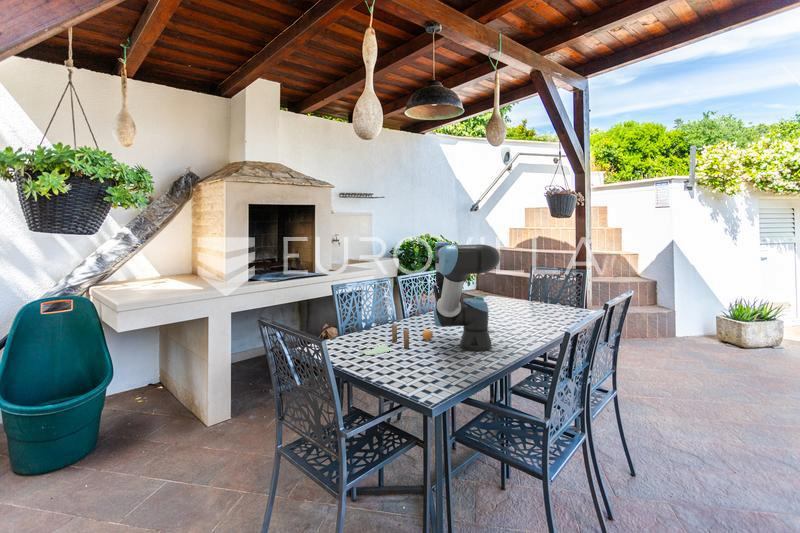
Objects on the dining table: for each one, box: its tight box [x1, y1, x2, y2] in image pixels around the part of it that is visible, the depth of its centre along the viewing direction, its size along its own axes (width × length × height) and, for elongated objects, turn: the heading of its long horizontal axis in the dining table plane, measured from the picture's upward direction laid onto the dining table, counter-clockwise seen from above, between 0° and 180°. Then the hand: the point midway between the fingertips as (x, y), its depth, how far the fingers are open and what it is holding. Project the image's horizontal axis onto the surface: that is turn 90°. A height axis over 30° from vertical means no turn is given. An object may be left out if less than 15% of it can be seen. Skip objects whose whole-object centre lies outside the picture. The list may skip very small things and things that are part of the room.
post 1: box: [391, 323, 398, 343], centre depth 197 cm, size 3×3×9 cm
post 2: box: [403, 328, 410, 350], centre depth 186 cm, size 3×3×9 cm
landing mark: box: [360, 343, 395, 356], centre depth 185 cm, size 14×14×1 cm
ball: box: [421, 329, 433, 341], centre depth 199 cm, size 6×6×6 cm
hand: (443, 315), depth 203 cm, fingers closed
